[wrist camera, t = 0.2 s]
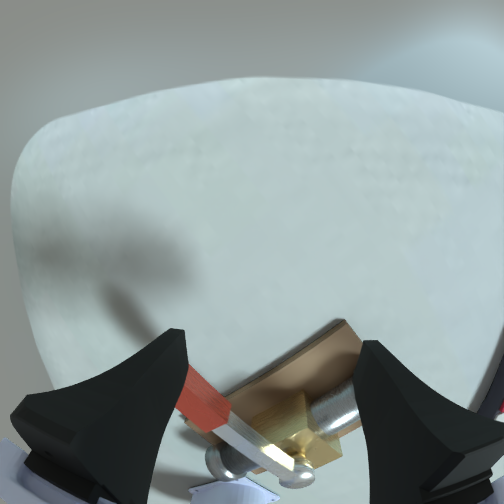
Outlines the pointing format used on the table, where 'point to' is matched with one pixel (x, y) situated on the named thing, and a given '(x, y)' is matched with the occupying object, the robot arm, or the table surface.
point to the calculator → (495, 397)
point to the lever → (239, 432)
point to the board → (298, 378)
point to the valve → (293, 431)
